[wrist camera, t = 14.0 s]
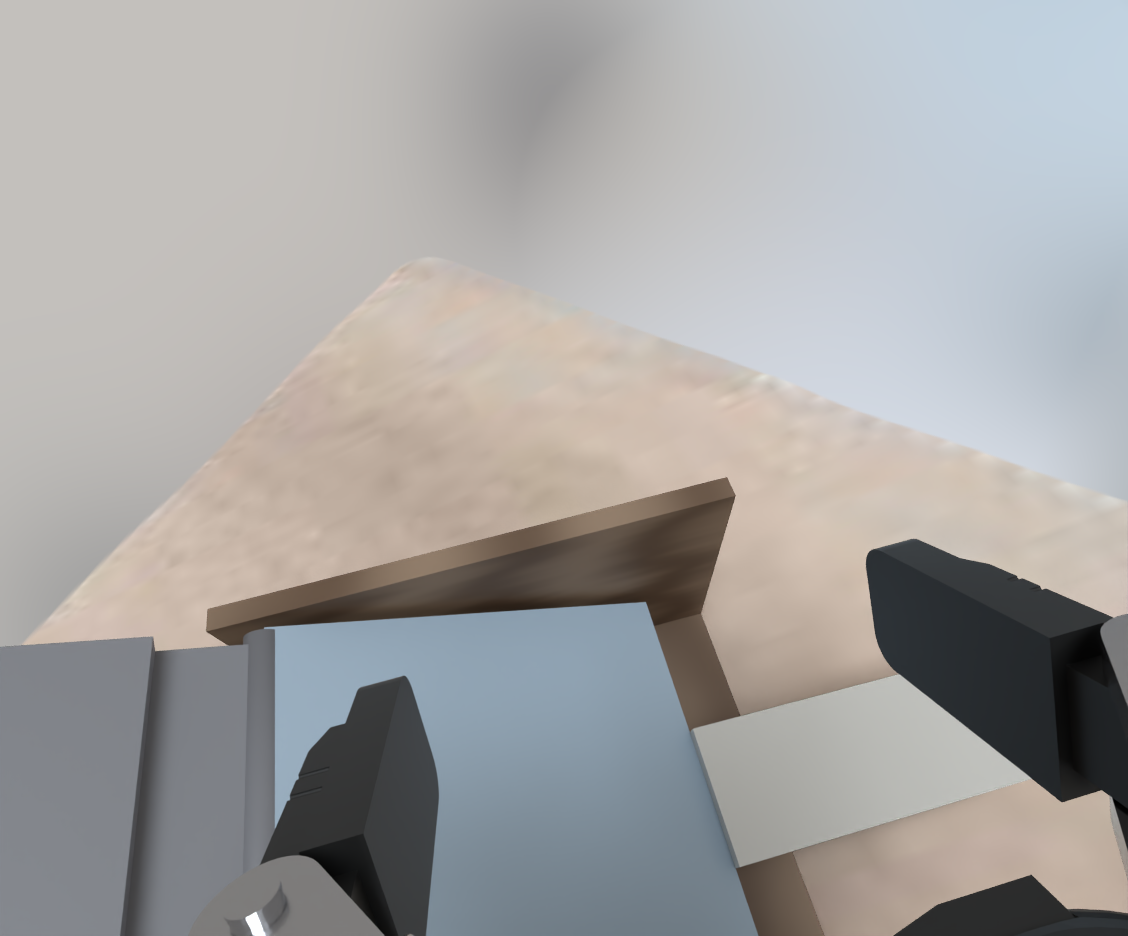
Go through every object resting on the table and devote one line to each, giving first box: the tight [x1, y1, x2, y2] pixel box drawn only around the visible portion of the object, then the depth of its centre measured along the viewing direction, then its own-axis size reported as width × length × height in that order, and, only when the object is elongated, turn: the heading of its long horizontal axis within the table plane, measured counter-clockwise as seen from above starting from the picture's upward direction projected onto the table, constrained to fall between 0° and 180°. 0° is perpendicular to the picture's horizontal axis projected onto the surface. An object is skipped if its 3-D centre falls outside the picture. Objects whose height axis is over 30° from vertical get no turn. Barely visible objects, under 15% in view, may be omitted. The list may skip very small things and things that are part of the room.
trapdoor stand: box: [206, 477, 824, 936], centre depth 23 cm, size 18×18×12 cm
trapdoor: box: [0, 602, 758, 936], centre depth 19 cm, size 22×15×3 cm
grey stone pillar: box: [690, 674, 1032, 868], centre depth 26 cm, size 5×5×12 cm
